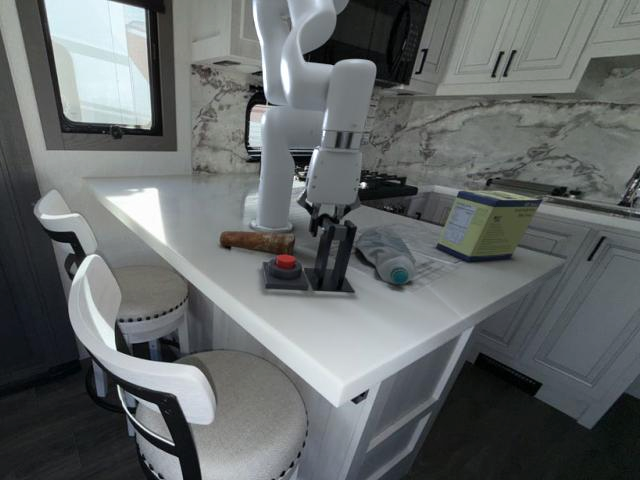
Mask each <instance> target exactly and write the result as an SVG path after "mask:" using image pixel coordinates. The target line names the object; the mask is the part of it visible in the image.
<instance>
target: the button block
mask: <svg viewBox="0 0 640 480" xmlns="http://www.w3.org/2000/svg"><path fill="white" fill-rule="evenodd" d="M276 261H277V257H276V258H272V259H271V260H269V261H262V264H261V265H262V266H261V268H262V274H263V282H264V289H267V290H268V289H269V290H286V291H287V290H288V291H289V290H290V291H309V286H310V284H309V282H308V281H307V280H308V279H307V277H306V276H305V275H306V274H305V272H304V270H303V265H302V264H301V262H299V261H297V260H296V259H295V265H294V268H292V269H283V268H279V267H277V266H276Z"/></svg>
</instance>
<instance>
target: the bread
mask: <svg viewBox="0 0 640 480" xmlns="http://www.w3.org/2000/svg"><path fill="white" fill-rule="evenodd" d="M219 244H220V245H221V246H223V247H228V248H232V247H237V248H242V249H248V250H253V251H260V252H264V253H270V254H275V255H290V256H292V251H293V249H294V248H295V244H296V235H295V234H294V233H281V232H265V231H243V230H224V231H222V232H221V234H220V236H219Z"/></svg>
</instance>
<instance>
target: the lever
mask: <svg viewBox="0 0 640 480" xmlns="http://www.w3.org/2000/svg"><path fill="white" fill-rule="evenodd" d="M318 218H319V220H320V221H319V226H318V228H321V229H322V226H323V221H324V219H329V220H330V221H331V222H332V215H331V214H329V213H327V212H322V213H319V214H318ZM334 225H335V229H334V234H333V238H332V241H339V242H340V241H345V237H346V233H347V227H345V226H344V224H334Z"/></svg>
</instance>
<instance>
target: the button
mask: <svg viewBox="0 0 640 480" xmlns="http://www.w3.org/2000/svg"><path fill="white" fill-rule="evenodd" d="M276 258H277V261H276V266H277V267H279V268H283V269H292V268H294V265H295V260H296V257H294V256H293V255H280V254H278V255H277V256H276Z"/></svg>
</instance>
